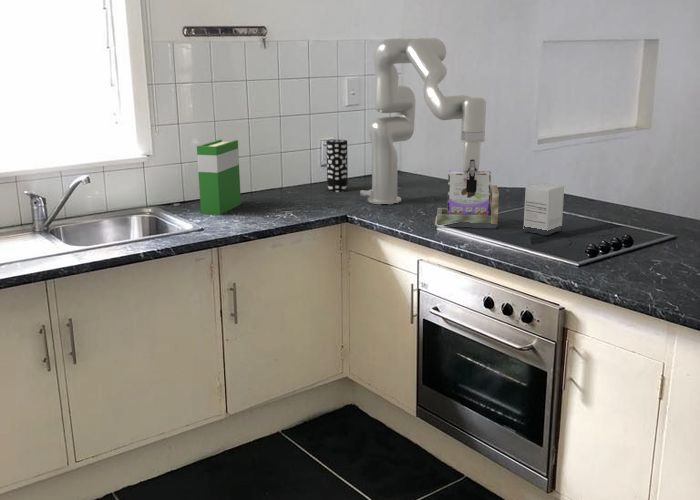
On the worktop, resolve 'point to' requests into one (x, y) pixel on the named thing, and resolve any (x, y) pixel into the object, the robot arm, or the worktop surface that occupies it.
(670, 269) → the worktop surface
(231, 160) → the hardback book
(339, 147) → the white-spotted black cylinder
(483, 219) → the khaki l-shaped bracket
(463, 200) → the candy box
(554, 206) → the supplement box
